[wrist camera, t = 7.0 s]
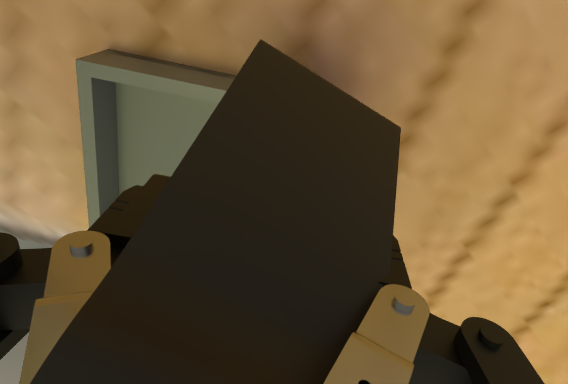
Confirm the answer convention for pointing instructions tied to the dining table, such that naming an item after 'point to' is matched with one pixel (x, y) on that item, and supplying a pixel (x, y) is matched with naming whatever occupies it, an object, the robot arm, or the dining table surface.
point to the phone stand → (249, 244)
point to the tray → (139, 119)
